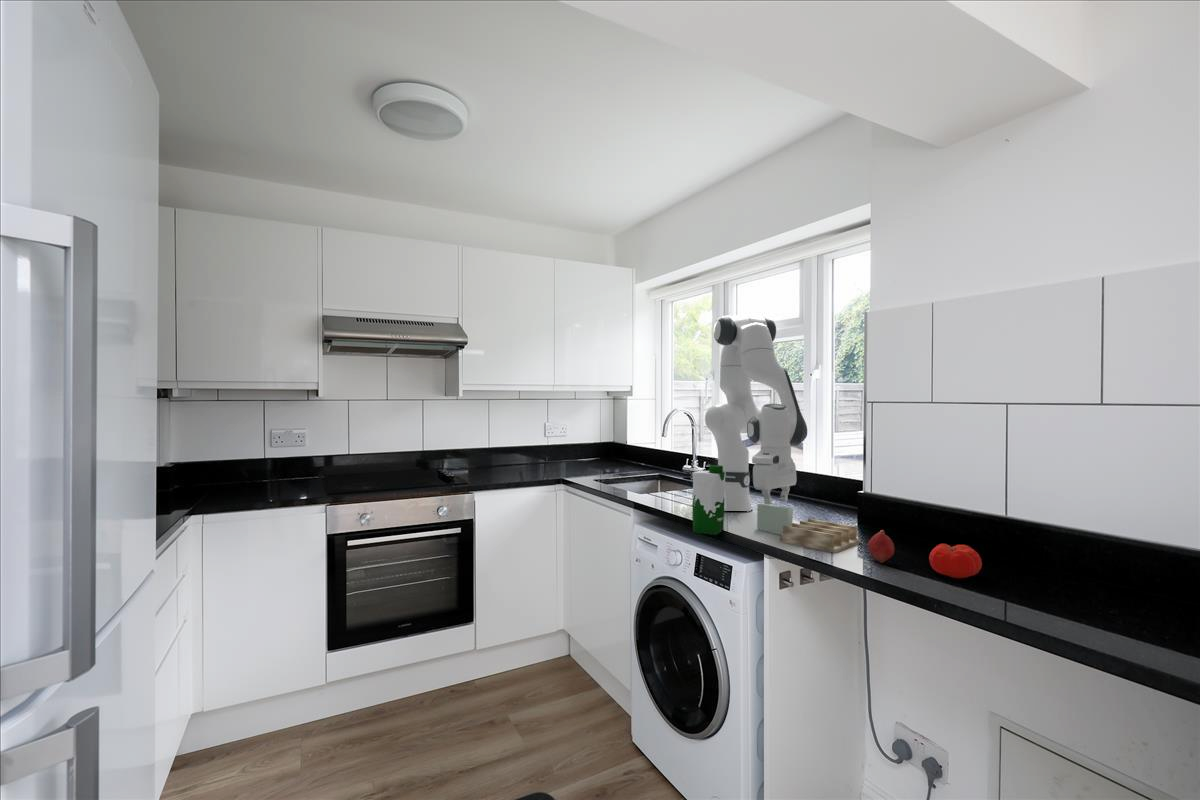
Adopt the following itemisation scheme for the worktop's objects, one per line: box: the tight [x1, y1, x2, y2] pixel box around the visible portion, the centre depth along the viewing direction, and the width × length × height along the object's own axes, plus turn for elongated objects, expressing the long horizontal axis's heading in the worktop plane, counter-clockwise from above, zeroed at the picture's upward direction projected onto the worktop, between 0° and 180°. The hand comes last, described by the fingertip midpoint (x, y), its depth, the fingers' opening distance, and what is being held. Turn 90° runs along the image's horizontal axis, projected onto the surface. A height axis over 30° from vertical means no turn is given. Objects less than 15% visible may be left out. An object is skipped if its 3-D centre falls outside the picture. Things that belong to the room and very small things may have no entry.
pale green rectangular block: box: [756, 502, 794, 535], centre depth 165 cm, size 10×3×8 cm, turn 43°
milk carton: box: [692, 464, 726, 536], centre depth 164 cm, size 9×9×20 cm
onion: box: [867, 529, 895, 564], centre depth 133 cm, size 6×6×8 cm
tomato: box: [928, 543, 983, 579], centre depth 125 cm, size 10×11×6 cm
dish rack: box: [778, 518, 861, 554], centre depth 153 cm, size 16×16×4 cm
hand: (776, 502), depth 165 cm, fingers open, 8 cm apart
